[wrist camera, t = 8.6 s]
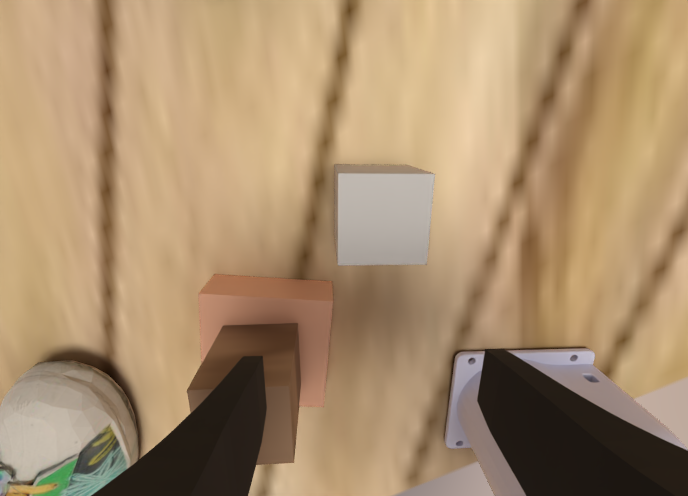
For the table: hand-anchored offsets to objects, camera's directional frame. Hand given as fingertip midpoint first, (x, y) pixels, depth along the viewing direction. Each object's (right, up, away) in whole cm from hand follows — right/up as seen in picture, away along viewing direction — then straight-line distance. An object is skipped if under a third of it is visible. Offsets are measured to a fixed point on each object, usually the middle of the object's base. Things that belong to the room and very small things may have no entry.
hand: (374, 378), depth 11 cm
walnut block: (-6, -2, +8) cm, 10 cm away
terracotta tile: (-6, -1, +11) cm, 12 cm away
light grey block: (0, +7, +8) cm, 11 cm away
